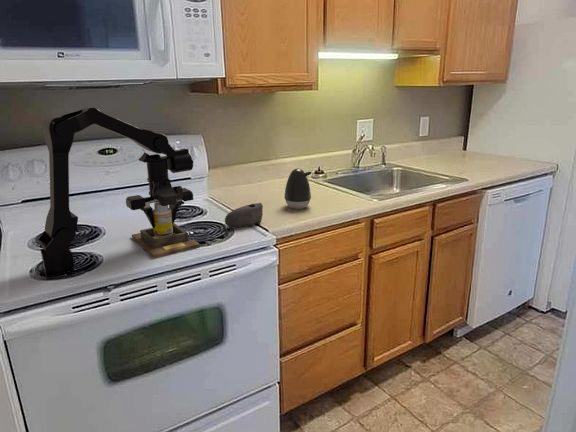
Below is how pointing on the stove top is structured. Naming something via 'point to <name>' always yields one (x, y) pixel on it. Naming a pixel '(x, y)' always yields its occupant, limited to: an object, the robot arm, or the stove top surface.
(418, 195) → the stove top surface
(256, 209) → the perforated stone tool
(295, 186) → the pump dispenser
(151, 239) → the holder board
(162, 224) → the supplement bottle
